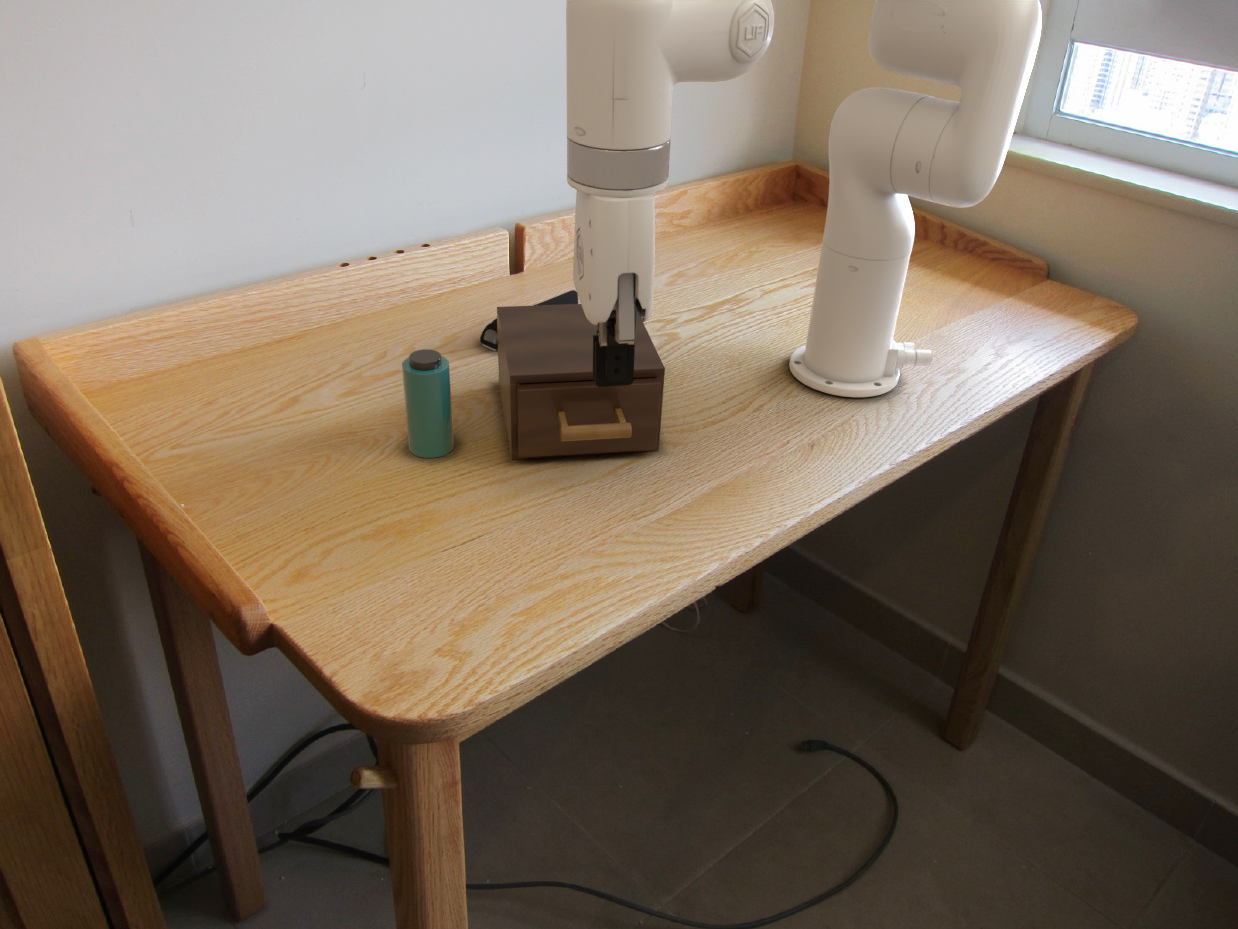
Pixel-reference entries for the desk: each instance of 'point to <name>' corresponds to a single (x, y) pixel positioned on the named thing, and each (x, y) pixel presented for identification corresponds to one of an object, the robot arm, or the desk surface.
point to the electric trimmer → (490, 332)
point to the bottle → (428, 403)
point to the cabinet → (557, 356)
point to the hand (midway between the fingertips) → (612, 381)
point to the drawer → (586, 417)
